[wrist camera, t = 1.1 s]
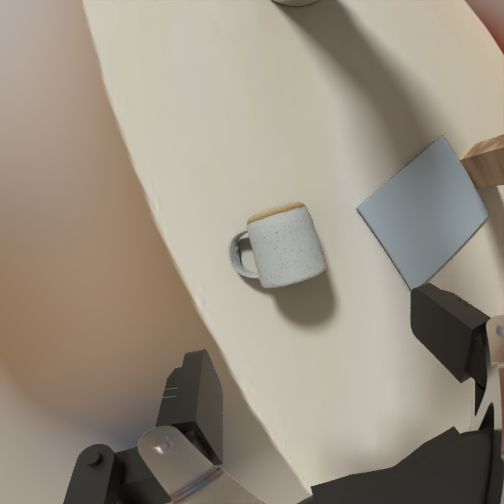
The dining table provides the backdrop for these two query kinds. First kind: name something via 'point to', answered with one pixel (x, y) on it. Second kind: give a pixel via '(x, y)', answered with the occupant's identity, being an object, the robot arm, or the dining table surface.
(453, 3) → the dining table surface
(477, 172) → the walnut block
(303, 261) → the ceramic mug
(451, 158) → the slate mat
